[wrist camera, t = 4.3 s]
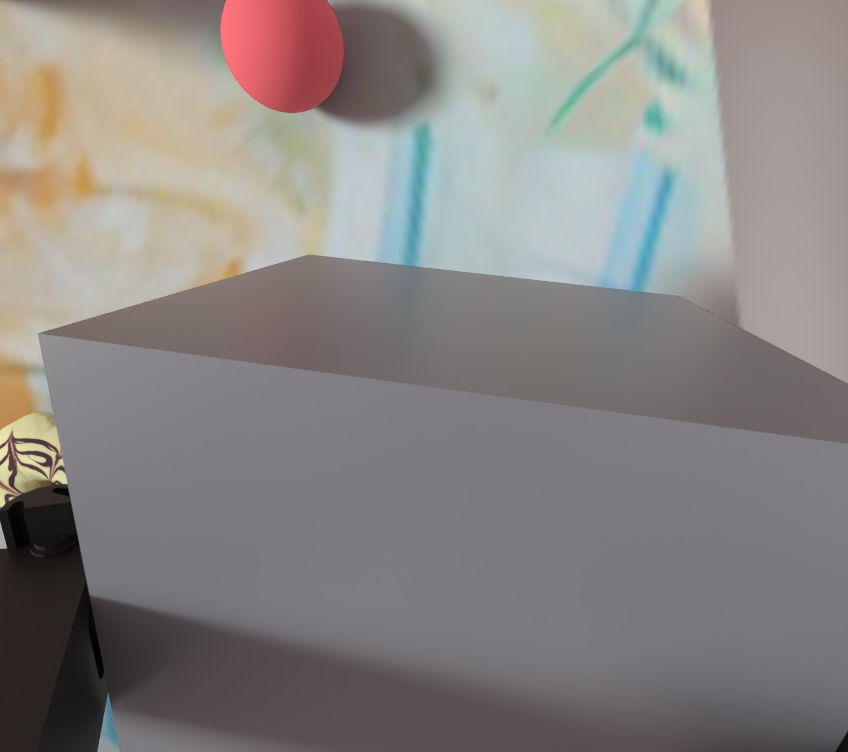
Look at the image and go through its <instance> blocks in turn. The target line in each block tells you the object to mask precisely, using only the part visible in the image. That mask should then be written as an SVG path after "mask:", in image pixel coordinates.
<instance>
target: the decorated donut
mask: <svg viewBox="0 0 848 752" xmlns="http://www.w3.org/2000/svg"><path fill="white" fill-rule="evenodd" d="M55 484H67V479H66V473H65V468H64V463H63V458H62V453H61V448H60V443H59V438H58V433H57V428H56V423H55V418H54V415H53V414H51V413H47V412H37V413H32V414H29V415H26V416H24V417H22V418H20V419H18V420H17V421H15V422H14V423H12V424H10V425H8V426H6V427H4V428H3V429H2V430H1V431H0V509H1V508H2V507H3V506H4V505H5V504H6V503H7V502H8V501H10V500H12V499H14V498H15V497H17V496H19V495H20V494H23V493H26V492H28V491H31V490H34V489H36V488H40V487H45V486H50V485H55Z"/></svg>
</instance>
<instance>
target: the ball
mask: <svg viewBox="0 0 848 752" xmlns="http://www.w3.org/2000/svg"><path fill="white" fill-rule="evenodd" d="M221 42H222V47H223V51H224V55H225V58H226V61H227V63H228V66H229V68H230V70H231V72H232V73H233V75H234V77H235V79H236V80H237V81H238V83H239V84H240V86H241V87H242V88H243V89H244V90H245V91H246V92H247V93H248V94H249V95H250V96H251V97H252V98H254V99H255V100H256V101H258V102H259V103H261V104H263V105H264V106H266V107H268V108H271V109H273V110H277V111H281V112H287V113H297V112H303V111H307V110H310V109H312V108H314V107H316V106H318V105H319V104H321V103H322V102H323V101H324V100H325V99H326V98H328V96H329V95H330V94H331V93H332V92H333V90H334V88H335V87H336V85H337V83H338V81H339V78H340V75H341V72H342V67H343V61H344V43H343V36H342V32H341V28H340V25H339V22H338V19H337V17H336V15H335V13H334V11H333V9H332V7H331V6H330V4H329V3H328V1H327V0H226V3H225V5H224V8H223V12H222V17H221Z"/></svg>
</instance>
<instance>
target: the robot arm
mask: <svg viewBox="0 0 848 752" xmlns="http://www.w3.org/2000/svg"><path fill="white" fill-rule="evenodd" d="M0 522H1V526H2V530H3V533H4V537H5V541H6V545H7V549H0V752H97V750H98V744H99V739H100V733H101V728H102V722H103V717H104V711H105V706H106V700H107V695H108V687H107V682H106V677H105V672H104V667H103V662H102V656H101V651H100V646H99V641H98V636H97V631H96V626H95V621H94V616H93V611H92V606H91V601H90V595H89V590H88V585H87V580H86V575H85V570H84V565H83V560H82V555H81V550H80V545H79V540H78V534H77V529H76V524H75V519H74V514H73V509H72V504H71V499H70V494H69V489H68V484H55V485H50V486H45V487H40V488H36V489H34V490H31V491H28V492H26V493H23V494H20V495H19V496H17V497H15V498H14V499H12V500H10V501H8V502H7V503H6V504H5V505H4V506H3V507H2V508H1V509H0ZM835 752H848V731H847V733H846V734H845V736H844V738H843V740H842V741H841V743H840V745H839V746H838V748H837V750H836V751H835Z"/></svg>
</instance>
